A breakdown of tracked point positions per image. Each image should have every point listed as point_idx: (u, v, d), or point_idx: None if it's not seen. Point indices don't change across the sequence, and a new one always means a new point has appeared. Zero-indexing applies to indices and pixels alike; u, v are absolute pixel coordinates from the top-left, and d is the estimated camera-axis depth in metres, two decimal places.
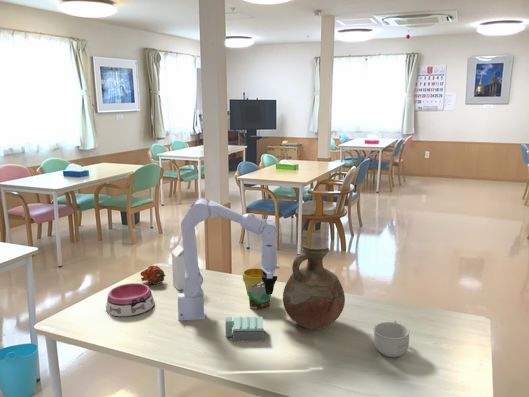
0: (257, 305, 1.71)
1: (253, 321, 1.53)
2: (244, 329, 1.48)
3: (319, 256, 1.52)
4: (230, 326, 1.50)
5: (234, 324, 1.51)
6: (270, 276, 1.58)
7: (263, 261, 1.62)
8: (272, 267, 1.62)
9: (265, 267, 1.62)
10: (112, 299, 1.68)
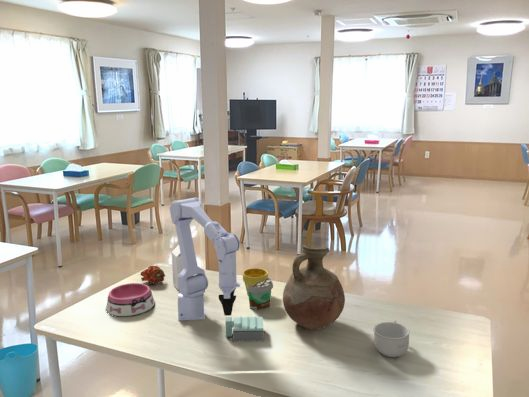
0: (257, 305, 1.71)
1: (253, 321, 1.53)
2: (244, 329, 1.48)
3: (319, 256, 1.52)
4: (230, 326, 1.50)
5: (234, 324, 1.51)
6: (227, 296, 1.42)
7: (221, 279, 1.46)
8: (231, 285, 1.46)
9: (223, 285, 1.46)
10: (112, 299, 1.69)
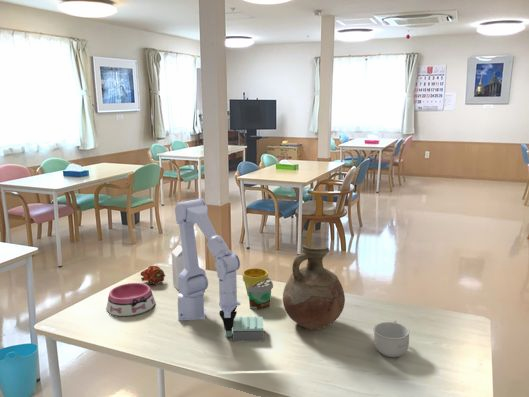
0: (257, 305, 1.71)
1: (253, 321, 1.53)
2: (244, 329, 1.48)
3: (319, 256, 1.52)
4: None
5: (234, 324, 1.51)
6: (228, 315, 1.43)
7: (221, 298, 1.47)
8: (231, 304, 1.47)
9: (223, 304, 1.47)
10: (113, 299, 1.69)
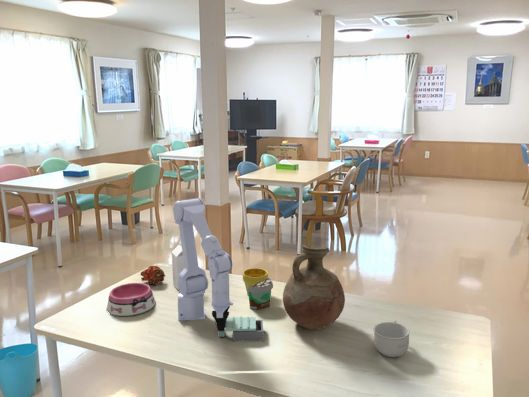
0: (257, 305, 1.71)
1: (246, 321, 1.53)
2: (237, 329, 1.48)
3: (319, 256, 1.52)
4: None
5: (227, 324, 1.51)
6: (220, 315, 1.43)
7: (214, 298, 1.47)
8: (224, 304, 1.47)
9: (216, 304, 1.47)
10: (113, 299, 1.69)
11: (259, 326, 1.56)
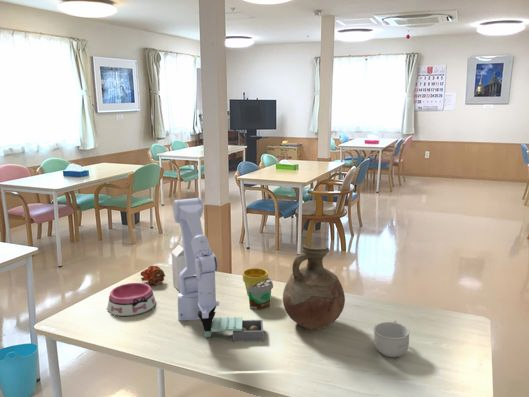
0: (257, 305, 1.71)
1: (232, 321, 1.52)
2: (223, 329, 1.48)
3: (319, 256, 1.52)
4: None
5: (213, 324, 1.51)
6: (205, 316, 1.43)
7: (200, 298, 1.47)
8: (210, 305, 1.47)
9: (202, 305, 1.47)
10: (113, 298, 1.69)
11: (259, 326, 1.56)
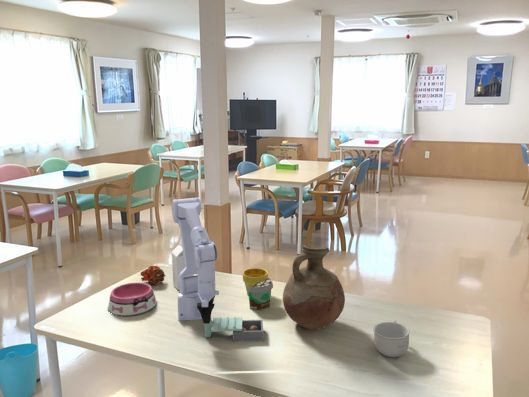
0: (257, 305, 1.71)
1: (232, 321, 1.52)
2: (223, 329, 1.48)
3: (319, 256, 1.52)
4: (209, 326, 1.50)
5: (213, 324, 1.51)
6: (205, 304, 1.42)
7: (199, 287, 1.46)
8: (209, 294, 1.46)
9: (201, 294, 1.46)
10: (114, 298, 1.69)
11: (259, 326, 1.56)
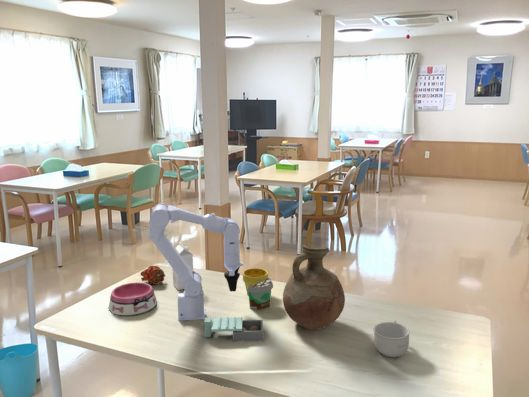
0: (257, 305, 1.71)
1: (232, 321, 1.52)
2: (223, 329, 1.48)
3: (319, 256, 1.52)
4: (209, 326, 1.50)
5: (213, 324, 1.51)
6: (232, 273, 1.59)
7: (226, 259, 1.64)
8: (235, 264, 1.64)
9: (228, 264, 1.64)
10: (115, 298, 1.69)
11: (259, 326, 1.56)
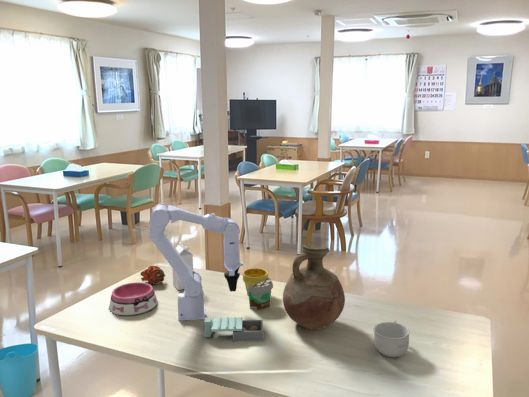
0: (257, 305, 1.71)
1: (232, 321, 1.52)
2: (223, 329, 1.48)
3: (319, 256, 1.52)
4: (209, 326, 1.50)
5: (213, 324, 1.51)
6: (232, 273, 1.59)
7: (226, 259, 1.64)
8: (235, 264, 1.64)
9: (228, 264, 1.64)
10: (115, 298, 1.69)
11: (259, 326, 1.56)
